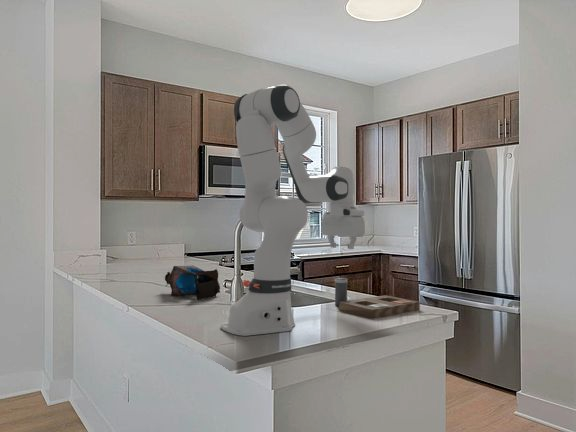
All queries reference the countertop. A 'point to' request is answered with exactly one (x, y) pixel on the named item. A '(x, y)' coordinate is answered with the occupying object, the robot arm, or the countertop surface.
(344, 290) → the plug
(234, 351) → the countertop surface
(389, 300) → the socket plate
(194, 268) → the lantern
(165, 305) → the countertop surface
